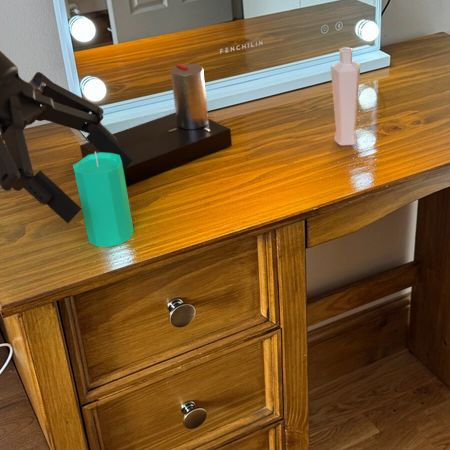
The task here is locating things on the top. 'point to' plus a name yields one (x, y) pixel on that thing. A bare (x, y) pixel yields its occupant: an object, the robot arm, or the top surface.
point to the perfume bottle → (345, 97)
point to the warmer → (165, 146)
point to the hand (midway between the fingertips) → (103, 189)
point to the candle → (104, 199)
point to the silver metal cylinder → (189, 96)
